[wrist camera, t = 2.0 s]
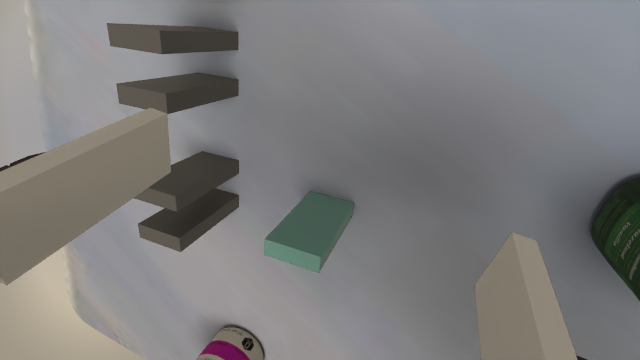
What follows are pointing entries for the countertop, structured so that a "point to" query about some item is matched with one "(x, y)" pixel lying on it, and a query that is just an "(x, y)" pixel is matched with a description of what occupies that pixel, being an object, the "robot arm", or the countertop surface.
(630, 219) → the coffee jar
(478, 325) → the robot arm
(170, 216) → the domino
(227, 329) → the supplement can
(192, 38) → the domino
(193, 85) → the domino
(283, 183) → the countertop surface
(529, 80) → the countertop surface
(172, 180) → the domino
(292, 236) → the domino
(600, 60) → the countertop surface
